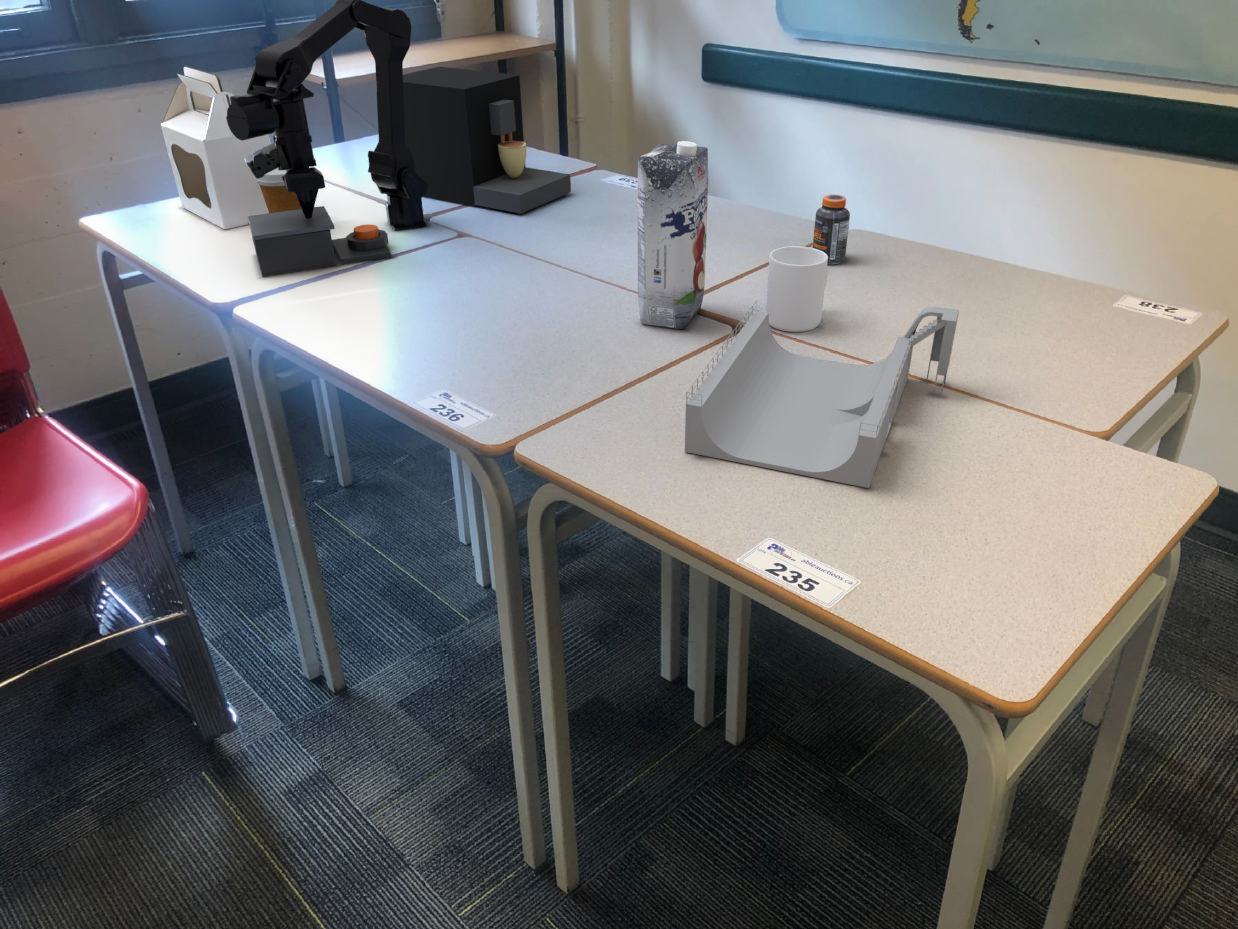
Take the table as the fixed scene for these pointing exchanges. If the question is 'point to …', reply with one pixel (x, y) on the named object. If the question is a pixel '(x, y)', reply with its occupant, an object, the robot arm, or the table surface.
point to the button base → (361, 248)
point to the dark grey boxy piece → (295, 253)
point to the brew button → (366, 232)
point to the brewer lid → (289, 223)
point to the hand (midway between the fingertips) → (308, 217)
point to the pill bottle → (832, 228)
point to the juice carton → (672, 233)
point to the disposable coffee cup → (277, 192)
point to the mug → (796, 288)
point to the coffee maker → (473, 140)
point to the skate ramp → (805, 402)
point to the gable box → (210, 153)
